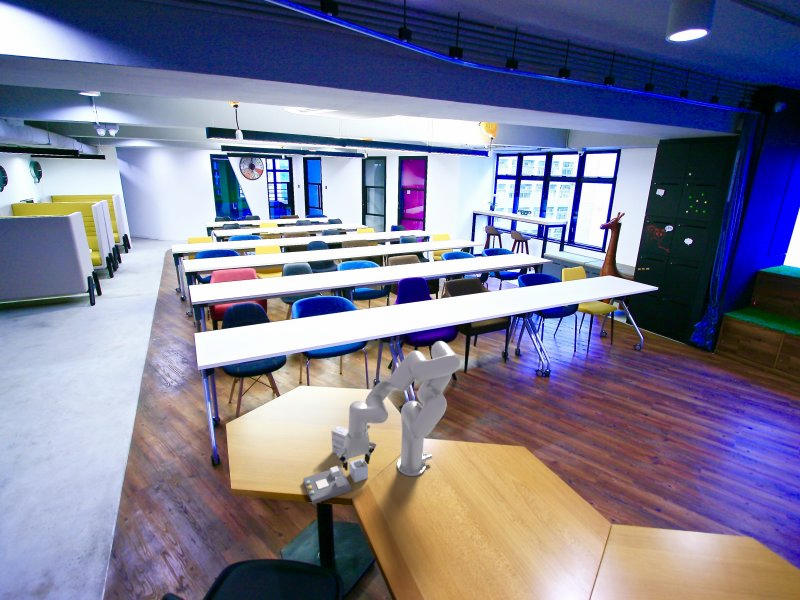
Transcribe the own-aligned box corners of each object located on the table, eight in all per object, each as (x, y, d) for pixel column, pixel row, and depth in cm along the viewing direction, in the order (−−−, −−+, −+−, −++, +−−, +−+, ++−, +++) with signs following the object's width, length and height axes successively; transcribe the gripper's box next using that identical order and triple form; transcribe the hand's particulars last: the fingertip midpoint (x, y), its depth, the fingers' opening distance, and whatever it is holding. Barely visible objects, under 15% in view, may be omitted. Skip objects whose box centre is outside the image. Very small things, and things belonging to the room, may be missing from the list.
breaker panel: (340, 470, 178) (339, 461, 177) (351, 490, 167) (351, 481, 166) (303, 482, 171) (303, 473, 169) (312, 504, 160) (312, 495, 158)
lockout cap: (362, 469, 179) (362, 457, 177) (367, 478, 174) (368, 466, 172) (349, 473, 176) (349, 461, 174) (354, 482, 171) (354, 470, 169)
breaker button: (325, 482, 171) (325, 478, 170) (329, 489, 167) (329, 485, 167) (315, 485, 169) (315, 481, 168) (318, 492, 165) (318, 489, 165)
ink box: (353, 452, 189) (353, 430, 185) (347, 458, 185) (346, 436, 181) (338, 446, 193) (337, 424, 189) (331, 452, 189) (331, 430, 185)
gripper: (373, 421, 175) (371, 454, 180) (334, 430, 167) (333, 465, 172) (380, 431, 169) (378, 465, 174) (340, 441, 161) (339, 477, 166)
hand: (356, 465), depth 173 cm, fingers open, 9 cm apart
